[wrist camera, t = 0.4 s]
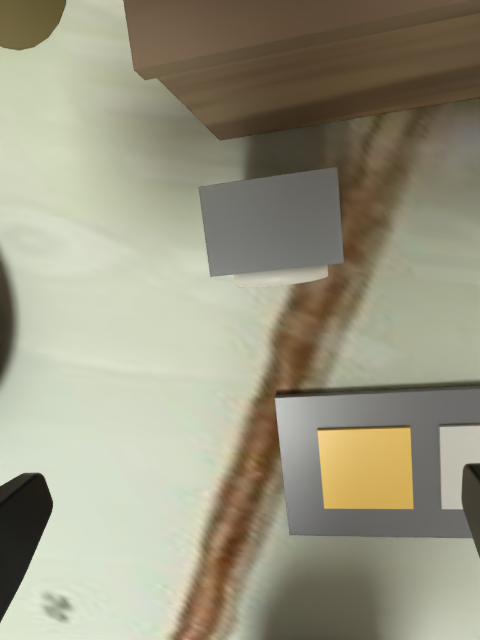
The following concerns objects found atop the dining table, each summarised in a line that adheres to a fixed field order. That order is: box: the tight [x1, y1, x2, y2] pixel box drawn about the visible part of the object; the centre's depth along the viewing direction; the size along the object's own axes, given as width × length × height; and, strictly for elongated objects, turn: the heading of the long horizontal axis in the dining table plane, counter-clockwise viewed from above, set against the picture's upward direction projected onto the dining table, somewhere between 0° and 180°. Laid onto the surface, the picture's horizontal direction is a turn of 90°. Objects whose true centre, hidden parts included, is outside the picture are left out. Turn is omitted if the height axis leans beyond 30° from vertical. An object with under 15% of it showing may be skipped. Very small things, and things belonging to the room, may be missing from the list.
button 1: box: [199, 167, 344, 287], centre depth 18 cm, size 4×4×8 cm
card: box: [275, 385, 480, 538], centre depth 23 cm, size 9×16×1 cm, turn 97°
